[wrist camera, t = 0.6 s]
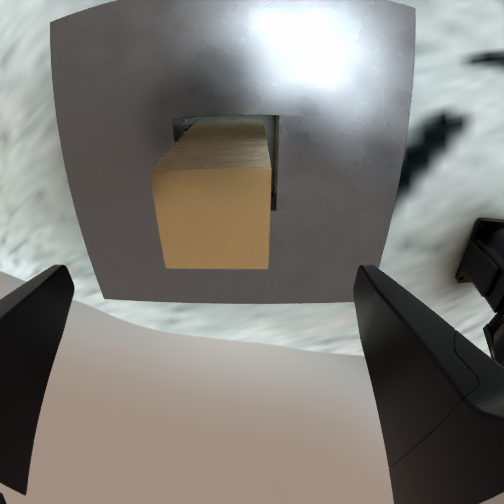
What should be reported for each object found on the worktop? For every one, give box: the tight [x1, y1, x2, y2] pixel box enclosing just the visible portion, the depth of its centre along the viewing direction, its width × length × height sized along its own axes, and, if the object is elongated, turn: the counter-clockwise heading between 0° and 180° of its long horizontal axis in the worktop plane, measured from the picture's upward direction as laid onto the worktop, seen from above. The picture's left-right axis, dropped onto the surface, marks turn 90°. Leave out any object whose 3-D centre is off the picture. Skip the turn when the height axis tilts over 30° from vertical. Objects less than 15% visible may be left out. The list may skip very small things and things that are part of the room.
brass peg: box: [150, 120, 272, 269], centre depth 15 cm, size 4×4×9 cm
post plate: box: [50, 0, 415, 304], centre depth 17 cm, size 20×20×2 cm
